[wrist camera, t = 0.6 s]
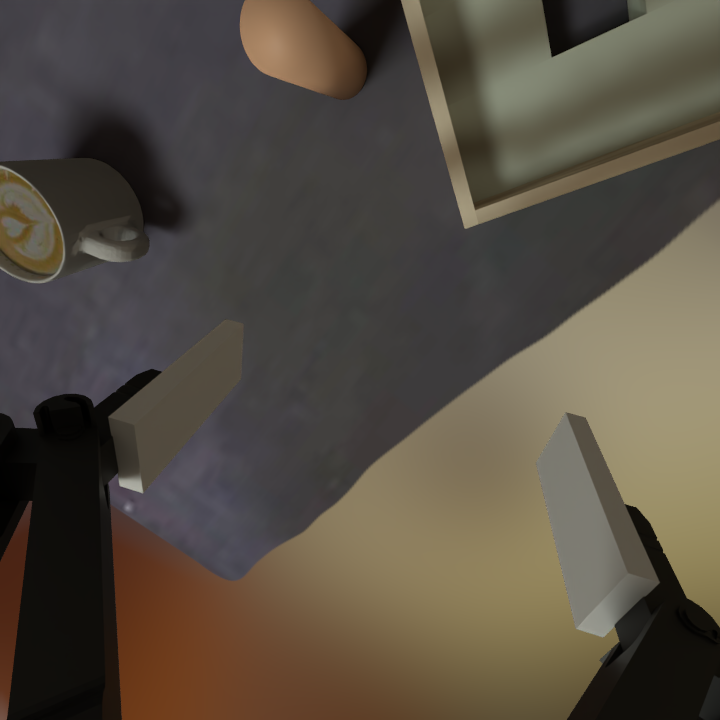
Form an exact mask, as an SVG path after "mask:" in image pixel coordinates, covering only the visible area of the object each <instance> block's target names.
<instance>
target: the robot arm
mask: <svg viewBox="0 0 720 720" xmlns="http://www.w3.org/2000/svg"><path fill="white" fill-rule="evenodd" d="M243 325H244V324H242V323H238V322H235V321H231V320H227V319H225V320H224V321H223V322H222V323H221V324H219V325H218V326H217V327H216V328H215V329H213V330H212V331H211V332H210V333H209V334H207V335H206V336H205V337H204V338H203V339H201V340H200V341H199V342H198V343H197V344H195V345H194V346H193V347H192V348H191V349H189V350H188V351H187V352H186V353H185V354H183V355H182V356H181V357H180V358H179V359H177V360H176V361H175V362H174V363H173V364H171V365H170V366H169V367H168V368H167V369H165V370H164V371H163V372H161V371H157V370H154V369H150V370H148V371H145V372H142V373H140V374H137V375H136V376H134V377H133V378H132V379H130V380H129V381H128V382H127V383H125V385H123V386H121V387H120V388H119V389H118V390H116V392H114V393H112V394H111V395H110V396H108V397H107V398H106V399H105V400H103V401H102V402H101V403H99V404H98V405H97V406H96V407H94V406H93V403H92V401H91V399H89V398H88V397H86V396H84V395H79V394H63V395H59V396H54V397H52V398H49V399H47V400H45V401H43V402H42V403H41V404H39V405H38V406H37V407H36V408H35V410H34V412H33V415H34V418H35V421H36V425H37V428H38V429H31V428H15V426H14V423H13V421H12V419H11V418H10V417H9V416H7V415H5V414H2V413H0V561H1V559H2V556H3V554H4V552H5V550H6V548H7V546H8V544H9V542H10V540H11V538H12V536H13V533H14V531H15V529H16V527H17V525H18V523H19V521H20V519H21V517H22V515H23V512H24V510H25V508H26V506H27V504H28V502H29V501H33V502H32V510H31V518H30V527H29V536H28V544H27V553H26V561H25V570H24V580H23V587H22V596H21V604H20V613H19V623H18V630H17V639H16V648H15V656H14V665H13V673H12V683H11V692H10V699H9V708H8V716H7V720H122V716H121V697H120V679H119V659H118V641H117V623H116V604H115V585H114V569H113V568H114V567H113V549H112V529H111V511H110V492H109V485H108V482H109V481H110V480H111V479H112V478H113V477H114V476H115V475H116V474H117V473H118V478H119V483H120V486H122V487H125V488H128V489H131V490H134V491H138V492H141V493H144V492H145V490H146V489H147V488H148V487H149V486H150V485H151V483H152V482H153V481H154V480H155V479H156V478H157V476H158V475H159V474H160V473H161V472H162V470H163V469H164V468H165V467H166V466H167V465H168V463H169V462H170V461H171V460H172V459H173V458H174V456H175V455H176V454H177V453H178V452H179V451H180V449H181V448H182V447H183V446H184V445H185V444H186V442H187V441H188V440H189V439H190V438H191V437H192V435H193V434H194V433H195V432H196V431H197V430H198V428H199V427H200V426H201V425H202V424H203V423H204V421H205V420H206V419H207V418H208V417H209V416H210V414H211V413H212V412H213V411H214V410H215V409H216V407H217V406H218V405H219V404H220V403H221V402H222V400H223V399H224V398H225V397H226V396H227V395H228V393H229V392H230V391H231V390H232V389H233V388H234V386H235V385H236V384H237V383H238V382H239V381H240V379H241V367H242V346H243ZM536 465H537V469H538V474H539V477H540V482H541V486H542V490H543V494H544V499H545V503H546V507H547V510H548V515H549V519H550V523H551V528H552V531H553V536H554V540H555V544H556V548H557V553H558V556H559V561H560V565H561V569H562V573H563V577H564V582H565V585H566V590H567V594H568V598H569V602H570V606H571V611H572V614H573V619H574V623H575V627H576V629H578V630H582V631H585V632H588V633H591V634H594V635H598V636H601V637H604V636H605V635H606V634H607V633H608V632H609V631H610V630H611V629H612V628H614V627H615V628H616V631H617V634H618V637H619V641H620V642H619V643H618V644H616V645H615V646H614V647H613V648H612V649H611V650H610V651H609V652H608V653H607V654H605V655H604V656H603V657H602V658H601V659H600V661H601V662H602V663H603V664H602V666H601V667H600V669H599V670H598V672H597V674H596V675H595V677H594V678H593V680H592V681H591V683H590V684H589V686H588V688H587V689H586V691H585V692H584V694H583V695H582V697H581V699H580V700H579V702H578V703H577V705H576V706H575V708H574V709H573V711H572V712H571V714H570V716H569V717H568V719H567V720H720V627H719V626H718V625H717V623H716V622H715V621H714V619H713V618H712V617H711V616H710V615H709V614H708V613H707V612H706V611H705V610H704V609H703V608H702V607H700V606H699V605H697V604H696V603H694V602H693V601H691V600H689V599H687V598H686V596H685V594H684V591H683V589H682V587H681V585H680V584H679V581H678V579H677V577H676V575H675V573H674V571H673V569H672V567H671V565H670V563H669V561H668V559H667V557H666V555H665V554H664V553H663V549H662V547H661V545H660V543H659V541H657V537H656V535H655V533H654V531H653V529H652V527H651V524H650V523H649V521H648V520H647V519H646V518H645V517H644V516H643V515H642V514H641V512H640V511H639V510H638V509H637V508H636V507H633V506H629V505H626V504H624V502H623V500H622V498H621V495H620V493H619V491H618V489H617V487H616V484H615V482H614V480H613V478H612V475H611V473H610V471H609V469H608V467H607V464H606V462H605V460H604V457H603V455H602V453H601V451H600V449H599V447H598V444H597V442H596V440H595V438H594V435H593V433H592V431H591V429H590V426H589V424H588V422H587V420H586V418H584V417H581V416H577V415H573V414H570V413H565V414H564V416H563V418H562V419H561V421H560V423H559V424H558V426H557V428H556V430H555V431H554V433H553V435H552V436H551V438H550V440H549V441H548V443H547V445H546V447H545V448H544V450H543V452H542V453H541V455H540V457H539V459H538V460H537V462H536Z"/></svg>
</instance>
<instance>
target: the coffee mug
mask: <svg viewBox="0 0 720 720" xmlns="http://www.w3.org/2000/svg"><path fill="white" fill-rule="evenodd" d="M148 249H149V239H148V236H147V235H146V234H145V233H144V232H143V215H142V210H141V206H140V203H139V201H138V199H137V197H136V195H135V193H134V191H133V189H132V188H131V186H130V185H129V183H128V182H127V181H126V180H125V179H124V178H123V177H122V175H121V174H120V173H118V172H117V171H116V170H115V169H113V168H112V167H111V166H109V165H108V164H106V163H104V162H102V161H99V160H96V159H92V158H70V159H48V160H26V161H5V162H0V269H2V270H3V271H5V272H6V273H8V274H9V275H11V276H13V277H15V278H17V279H20V280H22V281H26V282H29V283H45V282H49V281H53V280H56V279H59V278H61V277H64V276H67V275H70V274H73V273H76V272H79V271H82V270H85V269H88V268H90V267H93V266H96V265H99V264H102V263H105V262H108V261H112V262H127V261H133V260H136V259H139V258H141V257H143V256H144V255H146V253H147V252H148Z"/></svg>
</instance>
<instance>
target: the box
mask: <svg viewBox="0 0 720 720" xmlns="http://www.w3.org/2000/svg"><path fill="white" fill-rule="evenodd" d="M401 2H402V6H403V9H404V13H405V17H406V20H407V24H408V27H409V31H410V34H411V38H412V42H413V45H414V49H415V52H416V56H417V59H418V63H419V67H420V70H421V74H422V77H423V81H424V84H425V88H426V92H427V95H428V99H429V102H430V106H431V109H432V113H433V117H434V120H435V124H436V127H437V131H438V135H439V138H440V142H441V145H442V149H443V152H444V156H445V160H446V163H447V167H448V170H449V174H450V177H451V181H452V185H453V188H454V192H455V195H456V199H457V202H458V206H459V210H460V213H461V217H462V220H463V224H464V228H465V229H466V228H469V227H472V226H475V225H477V224H480V223H483V222H486V221H489V220H492V219H495V218H497V217H500V216H503V215H506V214H509V213H512V212H514V211H517V210H520V209H523V208H526V207H529V206H531V205H534V204H537V203H540V202H543V201H546V200H548V199H551V198H554V197H557V196H560V195H563V194H565V193H568V192H571V191H574V190H577V189H580V188H583V187H585V186H588V185H591V184H594V183H597V182H600V181H602V180H605V179H608V178H611V177H614V176H617V175H619V174H622V173H625V172H628V171H631V170H634V169H636V168H639V167H642V166H645V165H648V164H651V163H653V162H656V161H659V160H662V159H665V158H668V157H671V156H673V155H676V154H679V153H682V152H685V151H688V150H690V149H693V148H696V147H699V146H702V145H705V144H707V143H710V142H713V141H716V140H719V139H720V0H627V5H628V14H629V22H628V23H626V24H623V25H621V26H619V27H617V28H615V29H613V30H610V31H608V32H606V33H604V34H602V35H600V36H598V37H595V38H593V39H591V40H589V41H587V42H585V43H582V44H580V45H578V46H576V47H574V48H572V49H570V50H567V51H565V52H563V53H561V54H559V55H557V56H554V57H552V56H551V50H550V45H549V39H548V33H547V27H546V21H545V15H544V10H543V4H542V0H401Z"/></svg>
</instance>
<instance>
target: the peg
mask: <svg viewBox="0 0 720 720" xmlns="http://www.w3.org/2000/svg"><path fill="white" fill-rule="evenodd" d="M240 33H241V39H242V43H243V46H244V49H245V51H246V53H247V55H248V57H249V59H250V60H251V62H252V63H253V64H254V65H255V66H256V67H257V68H258V69H259V70H260V71H261V72H263V73H265V74H267V75H269V76H272V77H275V78H278V79H281V80H284V81H286V82H289V83H292V84H295V85H298V86H301V87H304V88H307V89H310V90H313V91H316V92H318V93H321V94H324V95H327V96H330V97H333V98H336V99H340V100H346V99H350V98H352V97H354V96H355V95H356V94H358V93H359V91H360V90H361V89H362V87H363V85H364V83H365V80H366V76H367V63H366V59H365V56H364V54H363V52H362V50H361V49H360V48H359V47H358V46H357V45H356V44H355V43H354V42H353V41H352V40H351V39H350V38H349V37H348V36H347V35H346V34H345V33H344V32H343V31H342V30H340V29H339V28H338V27H337V26H336V25H335V24H334V23H333V22H332V21H331V20H330V19H329V18H328V17H327V16H326V15H325V14H323V13H322V12H321V11H320V10H319V9H318V8H317V7H316V6H315V5H314V4H313V3H312V2H311V1H310V0H245V2H244V4H243V7H242V11H241V17H240Z"/></svg>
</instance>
